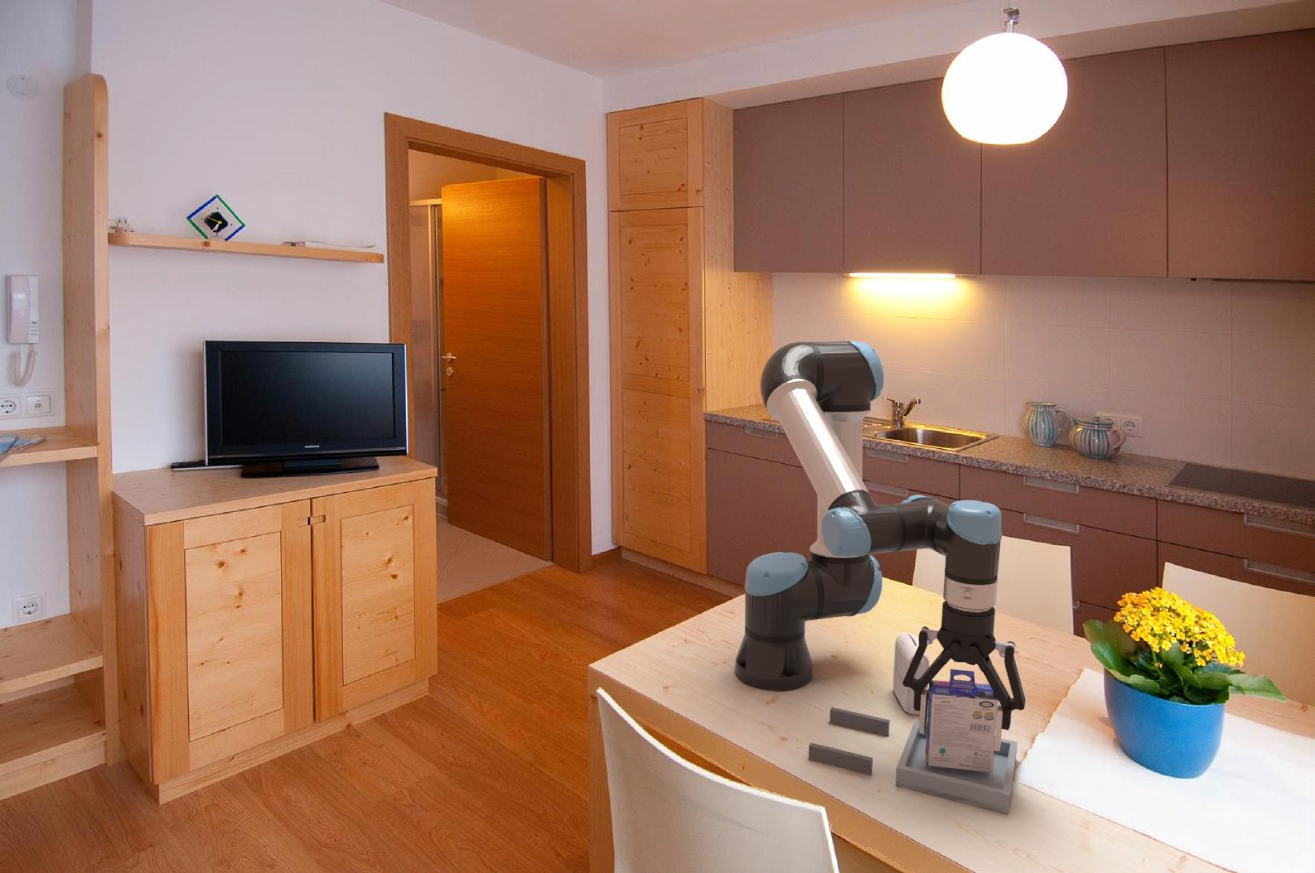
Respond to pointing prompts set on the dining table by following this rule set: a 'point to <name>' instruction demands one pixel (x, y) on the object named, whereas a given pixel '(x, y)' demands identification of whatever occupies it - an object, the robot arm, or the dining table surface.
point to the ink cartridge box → (961, 724)
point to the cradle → (843, 757)
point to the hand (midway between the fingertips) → (959, 737)
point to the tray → (958, 775)
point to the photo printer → (903, 658)
